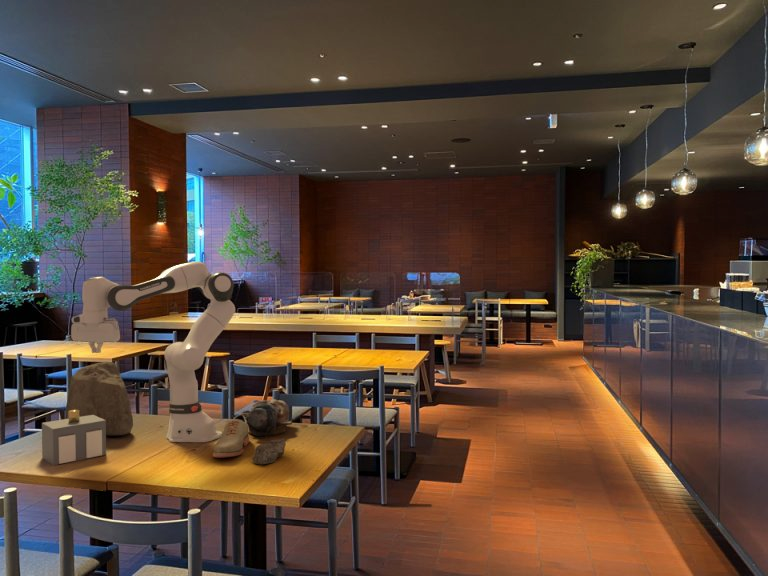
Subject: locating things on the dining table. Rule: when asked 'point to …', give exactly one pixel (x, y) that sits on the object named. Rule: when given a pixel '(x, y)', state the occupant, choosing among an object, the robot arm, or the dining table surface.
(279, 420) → the sculpture
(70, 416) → the brass dial
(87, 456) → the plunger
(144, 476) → the dining table surface
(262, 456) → the rock
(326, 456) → the dining table surface
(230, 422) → the oxford shoe
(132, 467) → the dining table surface
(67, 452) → the thin beige tile
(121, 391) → the stone
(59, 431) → the grey cabinet
